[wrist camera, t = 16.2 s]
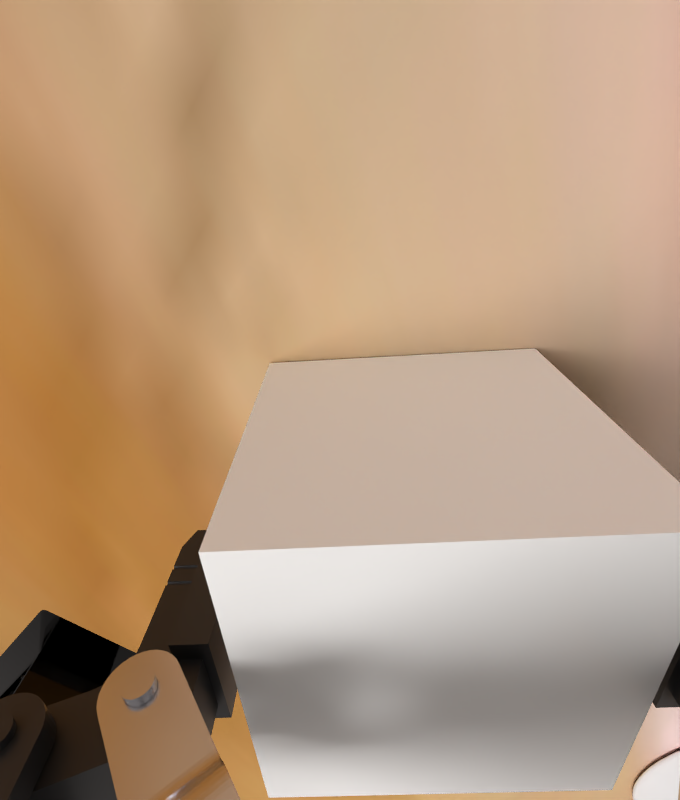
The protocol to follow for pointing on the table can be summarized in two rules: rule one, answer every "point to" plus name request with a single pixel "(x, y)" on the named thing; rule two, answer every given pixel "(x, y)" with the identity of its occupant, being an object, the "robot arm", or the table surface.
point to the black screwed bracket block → (58, 660)
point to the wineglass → (659, 780)
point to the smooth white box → (442, 578)
